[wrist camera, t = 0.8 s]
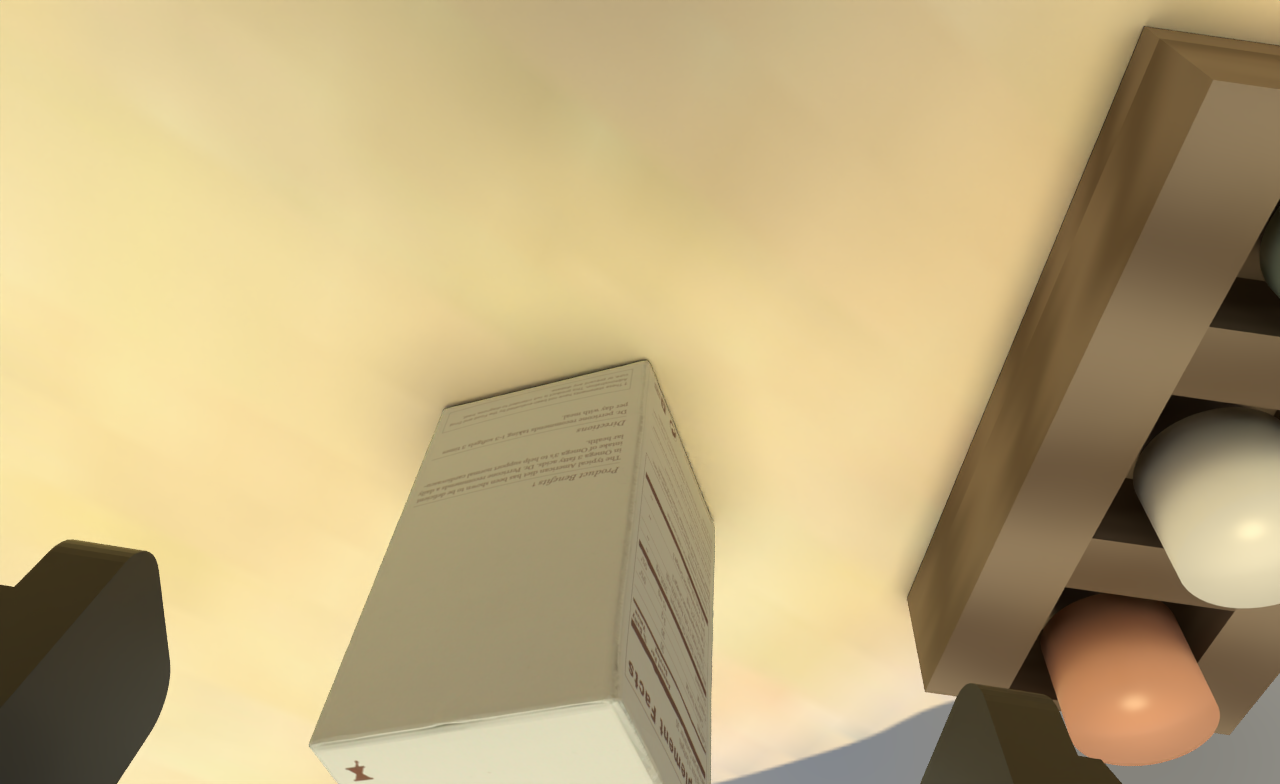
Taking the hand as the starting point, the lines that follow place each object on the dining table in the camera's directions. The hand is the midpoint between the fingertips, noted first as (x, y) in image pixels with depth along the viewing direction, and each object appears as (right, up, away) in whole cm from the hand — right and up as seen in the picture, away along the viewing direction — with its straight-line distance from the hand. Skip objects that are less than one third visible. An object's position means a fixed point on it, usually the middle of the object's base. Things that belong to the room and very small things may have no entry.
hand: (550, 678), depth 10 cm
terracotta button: (+16, -5, +20) cm, 26 cm away
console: (+17, +3, +19) cm, 25 cm away
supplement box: (-1, +1, +23) cm, 23 cm away
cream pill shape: (+16, +1, +16) cm, 23 cm away
